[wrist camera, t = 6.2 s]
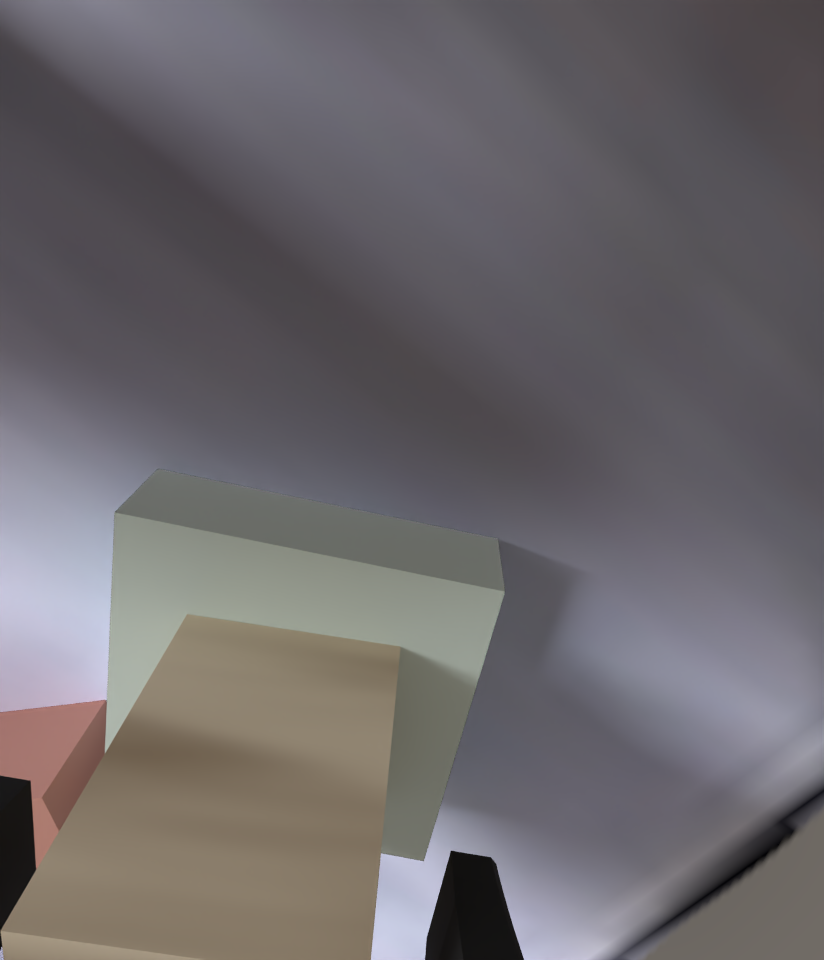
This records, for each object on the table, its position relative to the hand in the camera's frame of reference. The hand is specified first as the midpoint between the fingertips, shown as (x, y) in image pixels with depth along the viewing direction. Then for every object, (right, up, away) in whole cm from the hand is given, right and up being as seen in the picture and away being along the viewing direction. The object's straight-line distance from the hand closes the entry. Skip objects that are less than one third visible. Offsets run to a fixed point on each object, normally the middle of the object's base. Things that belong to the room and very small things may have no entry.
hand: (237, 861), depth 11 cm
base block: (0, +2, +5) cm, 6 cm away
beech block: (0, +1, +3) cm, 3 cm away
